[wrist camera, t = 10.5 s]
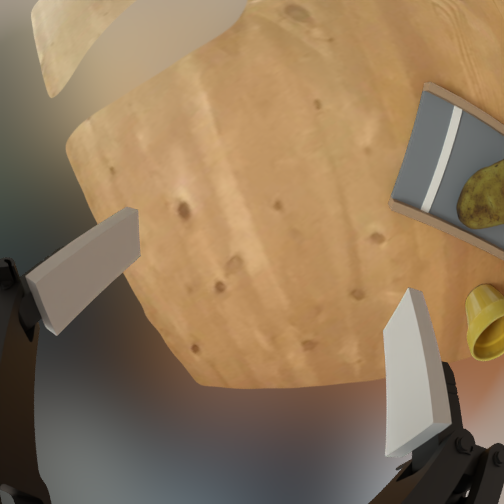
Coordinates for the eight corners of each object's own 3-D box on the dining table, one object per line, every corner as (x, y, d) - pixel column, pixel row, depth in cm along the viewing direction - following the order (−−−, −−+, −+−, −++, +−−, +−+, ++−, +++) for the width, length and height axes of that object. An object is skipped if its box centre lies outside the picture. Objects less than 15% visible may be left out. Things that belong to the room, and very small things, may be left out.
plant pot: (500, 312, 35) (517, 350, 26) (455, 328, 39) (467, 369, 31) (505, 267, 31) (529, 303, 23) (455, 283, 36) (474, 324, 27)
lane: (424, 83, 25) (433, 80, 22) (549, 166, 21) (561, 172, 18) (387, 203, 34) (392, 213, 31) (511, 260, 30) (520, 271, 27)
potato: (443, 165, 28) (468, 181, 21) (513, 147, 22) (545, 160, 16) (453, 223, 31) (475, 251, 24) (519, 203, 25) (547, 225, 19)
